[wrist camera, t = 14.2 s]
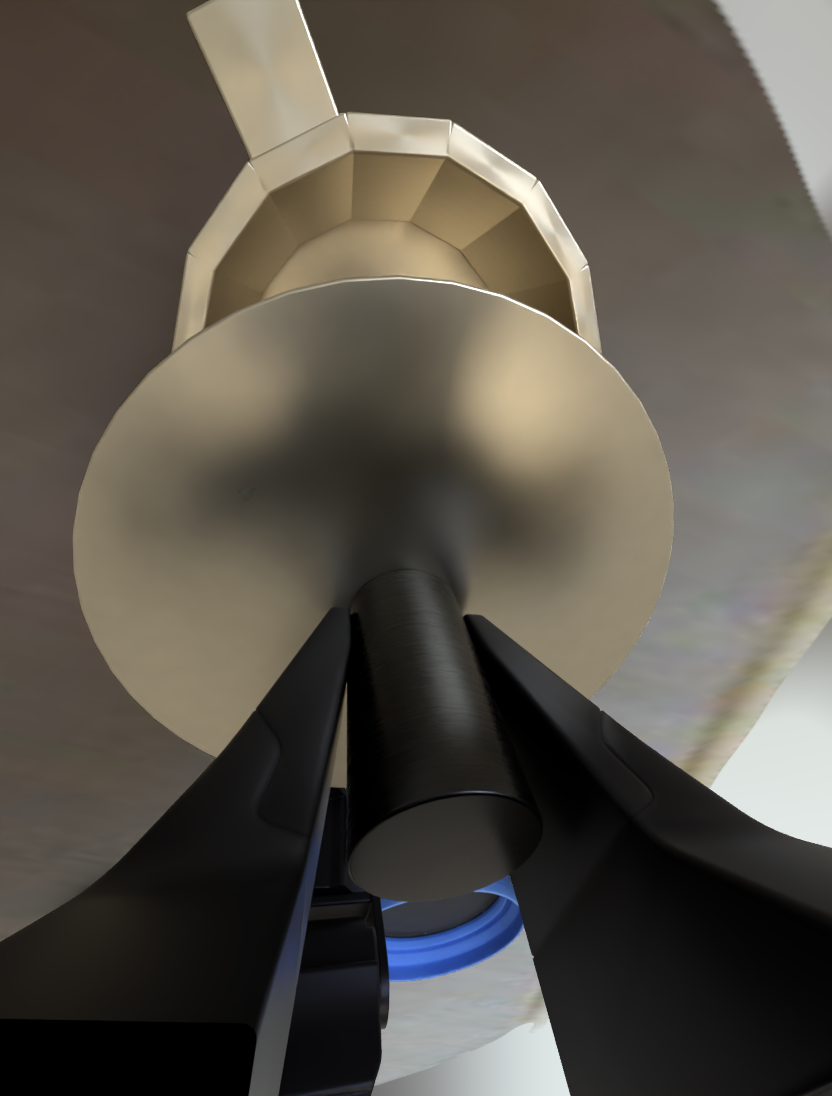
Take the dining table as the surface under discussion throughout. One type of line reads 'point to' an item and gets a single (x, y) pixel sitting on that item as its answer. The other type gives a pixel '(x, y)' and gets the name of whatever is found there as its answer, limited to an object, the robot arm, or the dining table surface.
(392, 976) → the bowl
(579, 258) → the pot
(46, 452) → the dining table surface
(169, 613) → the lid
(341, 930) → the robot arm
